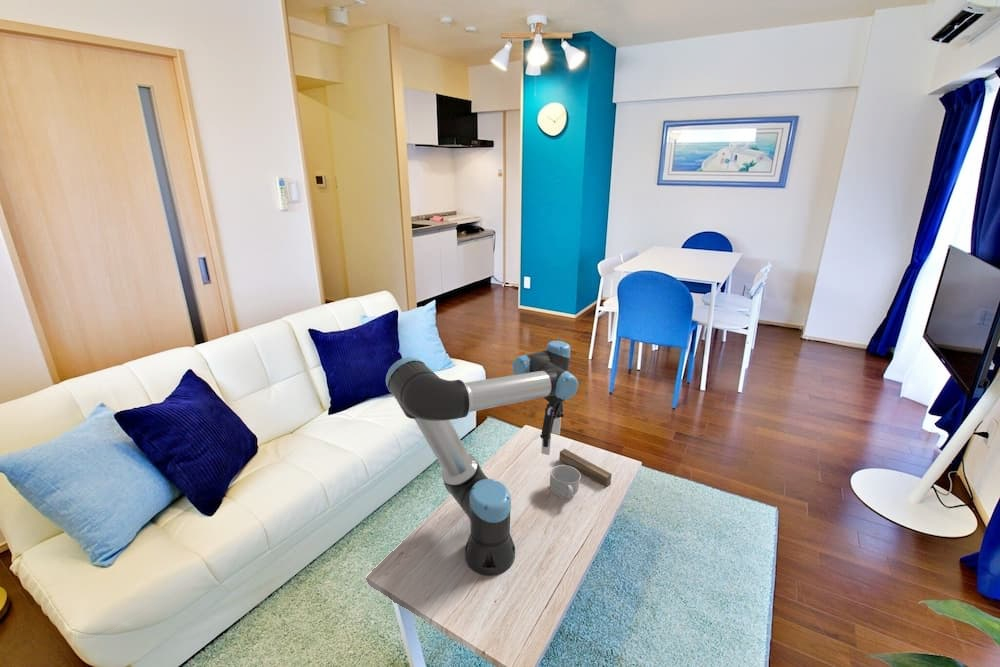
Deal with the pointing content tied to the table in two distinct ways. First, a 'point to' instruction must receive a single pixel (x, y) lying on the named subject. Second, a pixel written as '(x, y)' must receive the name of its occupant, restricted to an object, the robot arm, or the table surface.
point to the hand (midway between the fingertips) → (550, 443)
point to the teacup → (564, 480)
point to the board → (585, 468)
